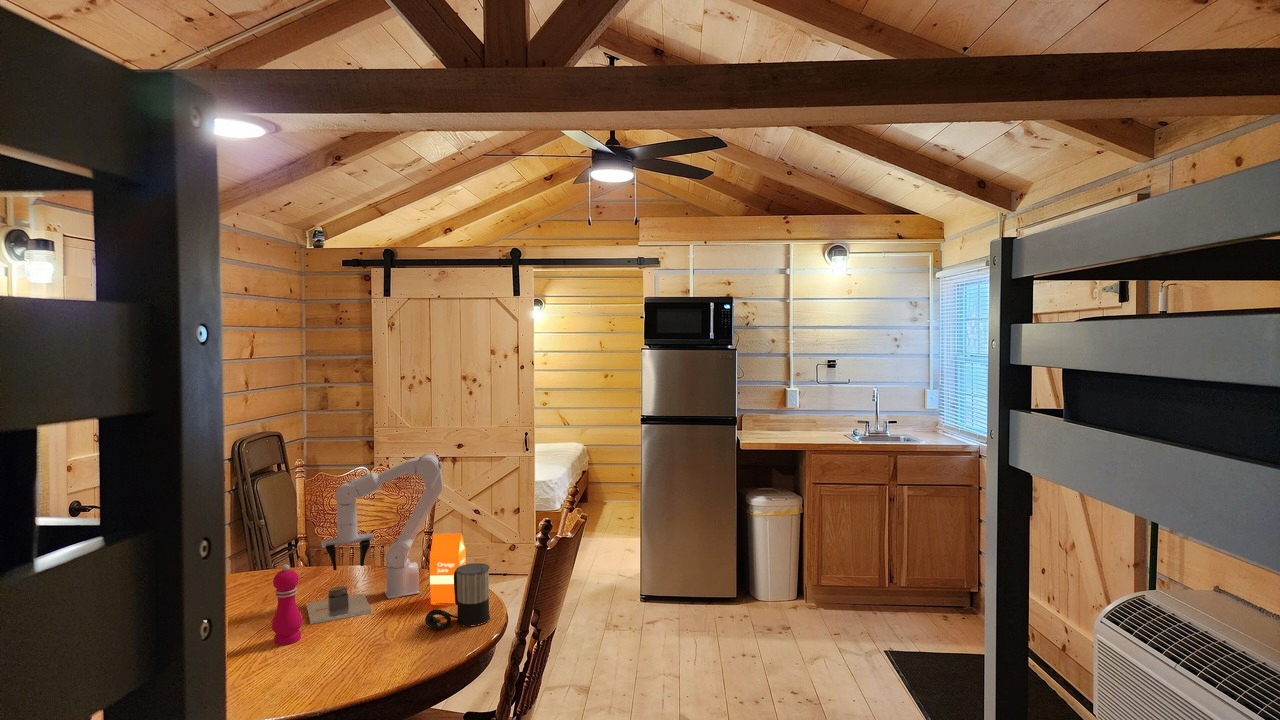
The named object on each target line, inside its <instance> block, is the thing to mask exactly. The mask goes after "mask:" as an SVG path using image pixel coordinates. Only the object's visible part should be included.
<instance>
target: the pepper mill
mask: <svg viewBox="0 0 1280 720" xmlns="http://www.w3.org/2000/svg"><path fill="white" fill-rule="evenodd" d="M299 581H300V577H299V574H298V573H297V571H295V570H293V569H290V565H288V564H283V565H282V566H281V570H280V571H279V572H277V573H276V574H275V575H274V577H273V580H272V582H273V583H272V584H273V585H272V586H273V587H274V588H275V589H276V590H275V597H277V607H276V610H275V612H274V616H273V618H272V622H271V630H272V631H273V632H274V633H275V634H274V636H273V638H274V639H273V640H274V641H273V643H274V644H275V645H276V644H277V646H286V645H292V644H294V643H297V642H299V641H300V640H301V638H302V634H301V633H302V632H301V630H300V629H301V627H303V617H302V613H301V612H300V610H299V608H298V606H297V602H296V594H297V593H298V591H297V589H298V588H297V586H298V584H299Z"/></svg>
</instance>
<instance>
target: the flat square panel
mask: <svg viewBox="0 0 1280 720" xmlns="http://www.w3.org/2000/svg"><path fill="white" fill-rule="evenodd" d="M305 605H306V612H307V611H308V612H307V615H308V619H309V624H310V625H314V623H315V624H319V623H325V622H330V621H336V620H340V619H342V620H343V619H346V618H351V617H357V616H358V617H359V616H362V615H368V614H372V608H371V606H370V604H369V602H368V599H367V598H366V595H365V594H364V593H363V592H362V593H358V594H357V593H356V594H353V595H351V594H350V595H348V605H349V607H348V608H343V609H337V610H332V611H330V610H329V606H328V599H324V600H323V599H322V600H318V601H311V602H306V603H305Z"/></svg>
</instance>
